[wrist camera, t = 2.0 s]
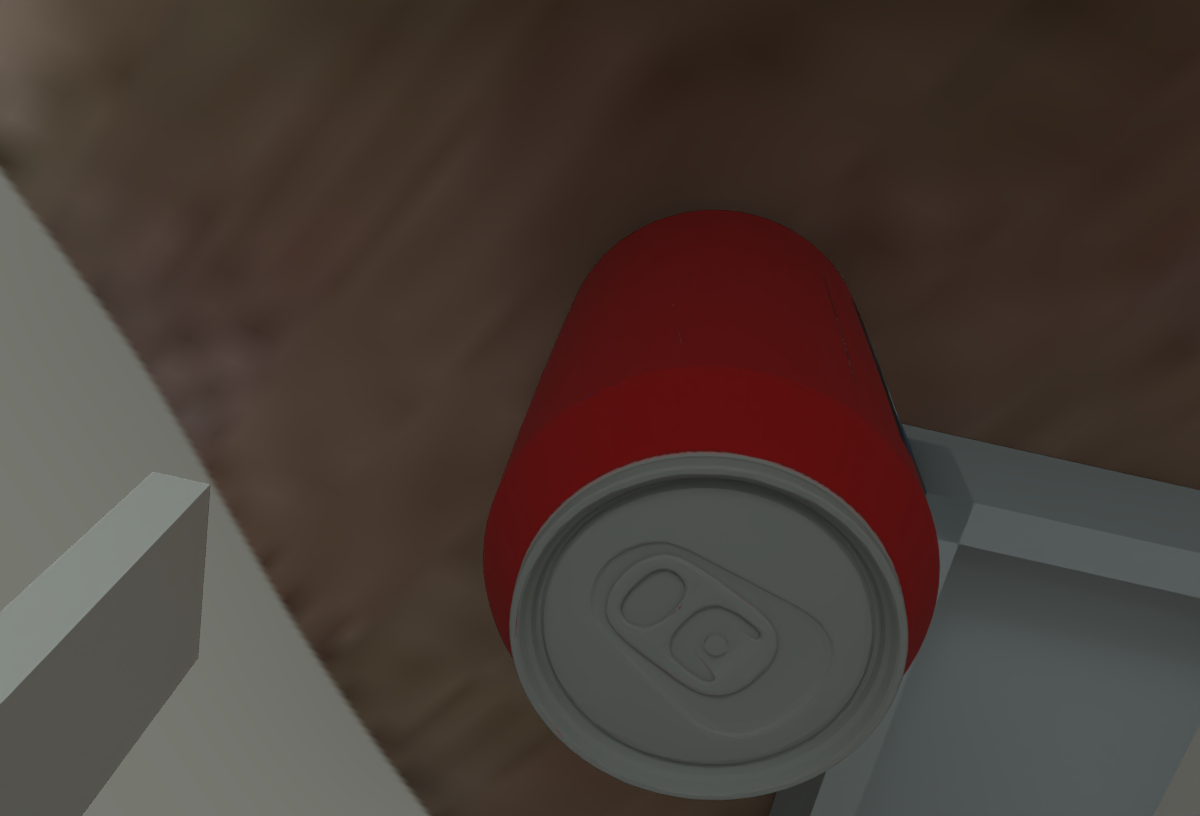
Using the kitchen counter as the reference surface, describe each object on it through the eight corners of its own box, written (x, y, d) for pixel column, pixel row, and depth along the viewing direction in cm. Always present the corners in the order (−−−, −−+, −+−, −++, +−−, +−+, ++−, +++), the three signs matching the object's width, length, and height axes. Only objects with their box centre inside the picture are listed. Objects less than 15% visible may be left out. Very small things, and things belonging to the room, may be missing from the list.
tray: (901, 423, 26) (927, 492, 23) (1406, 536, 26) (1501, 620, 23) (735, 911, 33) (737, 1018, 29) (1139, 1004, 33) (1185, 1121, 29)
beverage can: (727, 524, 28) (732, 913, 17) (510, 359, 27) (363, 659, 16) (923, 327, 25) (1078, 629, 14) (694, 135, 24) (671, 305, 13)
